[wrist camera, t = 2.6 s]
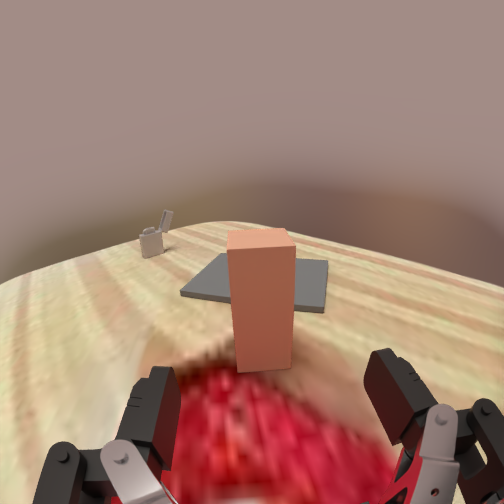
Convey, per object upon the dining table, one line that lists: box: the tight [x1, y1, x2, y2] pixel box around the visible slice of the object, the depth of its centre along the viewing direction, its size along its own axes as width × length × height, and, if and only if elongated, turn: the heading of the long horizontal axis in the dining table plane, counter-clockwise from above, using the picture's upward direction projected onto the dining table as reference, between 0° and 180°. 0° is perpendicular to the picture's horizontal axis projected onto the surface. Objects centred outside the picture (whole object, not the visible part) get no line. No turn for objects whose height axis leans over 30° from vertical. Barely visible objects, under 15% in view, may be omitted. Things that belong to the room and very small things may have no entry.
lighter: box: [139, 210, 173, 259], centre depth 49 cm, size 7×2×8 cm, turn 131°
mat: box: [180, 253, 328, 313], centre depth 38 cm, size 18×14×1 cm
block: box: [227, 228, 296, 373], centre depth 22 cm, size 4×5×11 cm
